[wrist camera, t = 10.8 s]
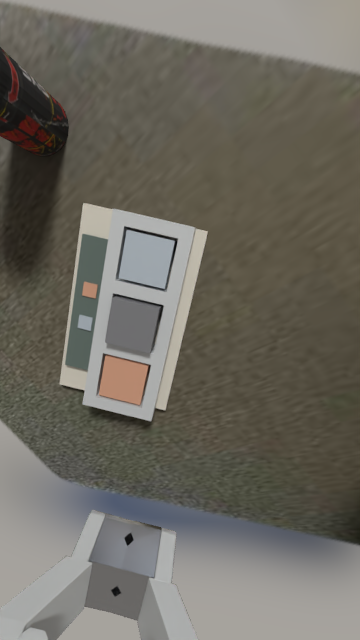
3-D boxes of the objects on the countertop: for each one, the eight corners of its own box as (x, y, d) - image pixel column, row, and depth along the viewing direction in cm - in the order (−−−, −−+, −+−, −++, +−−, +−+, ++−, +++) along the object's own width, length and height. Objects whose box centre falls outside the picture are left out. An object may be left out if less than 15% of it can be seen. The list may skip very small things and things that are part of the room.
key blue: (177, 241, 33) (174, 240, 30) (167, 285, 34) (164, 289, 32) (132, 230, 33) (126, 229, 30) (124, 275, 34) (118, 278, 32)
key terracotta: (151, 358, 36) (148, 366, 34) (144, 395, 38) (140, 405, 35) (111, 348, 36) (105, 355, 34) (105, 385, 38) (98, 394, 35)
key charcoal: (162, 304, 33) (159, 309, 31) (153, 346, 35) (149, 353, 32) (118, 294, 34) (112, 298, 31) (111, 336, 35) (104, 342, 32)
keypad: (207, 231, 34) (207, 230, 30) (166, 406, 39) (161, 424, 35) (86, 204, 34) (71, 198, 30) (63, 380, 40) (47, 395, 36)
